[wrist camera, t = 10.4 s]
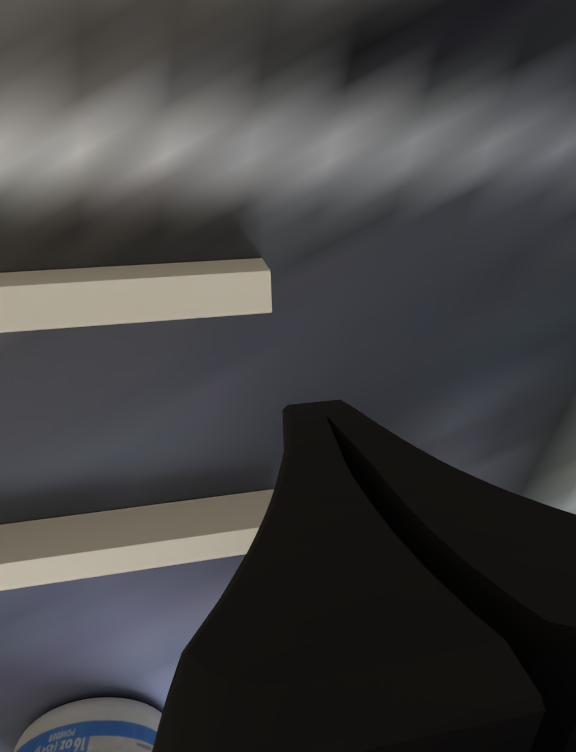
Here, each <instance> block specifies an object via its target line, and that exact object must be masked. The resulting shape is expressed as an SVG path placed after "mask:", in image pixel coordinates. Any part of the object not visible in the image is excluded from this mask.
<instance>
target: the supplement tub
mask: <svg viewBox="0 0 576 752" xmlns="http://www.w3.org/2000/svg"><path fill="white" fill-rule="evenodd" d="M161 715H162V713H161V712H159V711H158V710H156V709H155V708H153V707H151V706H149V705H147V704H145V703H142V702H139V701H135V700H131V699H125V698H115V697H101V698H90V699H84V700H79V701H75V702H71V703H68V704H65V705H62V706H59V707H57V708H55V709H53V710H51V711H49V712H47V713H45V714H44V715H42V716H41V717H39V718H38V719H37V720H35V721H34V722H33V723H32V724H31V725H30V726H29V727H28V728H27V729H26V730H25V732H24V733H23V734H22V736H21V737H20V739H19V741H18V743H17V745H16V747H15V749H14V752H152V750H153V745H154V741H155V737H156V733H157V729H158V726H159V722H160V719H161Z"/></svg>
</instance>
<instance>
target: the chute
mask: <svg viewBox="0 0 576 752" xmlns="http://www.w3.org/2000/svg"><path fill="white" fill-rule="evenodd" d="M259 313H272V299H271V275H270V269H269V268H268V266H267V265H266V263H265V262H264V260H263V259H262V258H253V259H235V260H218V261H200V262H182V263H164V264H146V265H129V266H111V267H93V268H75V269H57V270H40V271H22V272H4V273H0V333H1V332H15V331H29V330H42V329H56V328H69V327H83V326H96V325H110V324H123V323H137V322H151V321H164V320H178V319H191V318H205V317H218V316H232V315H246V314H259ZM273 492H274V489H271V490H263V491H255V492H248V493H240V494H232V495H225V496H217V497H209V498H201V499H194V500H186V501H178V502H171V503H163V504H155V505H148V506H140V507H132V508H125V509H117V510H109V511H102V512H94V513H86V514H79V515H71V516H63V517H55V518H48V519H40V520H32V521H25V522H17V523H9V524H2V525H0V591H3V590H9V589H16V588H23V587H29V586H36V585H43V584H49V583H56V582H63V581H69V580H76V579H83V578H89V577H96V576H103V575H110V574H116V573H123V572H130V571H136V570H143V569H150V568H156V567H163V566H170V565H176V564H183V563H190V562H196V561H203V560H210V559H217V558H223V557H230V556H237V555H243V554H247V552H248V550H249V548H250V546H251V544H252V542H253V540H254V538H255V536H256V534H257V531H258V529H259V527H260V525H261V522H262V520H263V518H264V516H265V513H266V511H267V508H268V506H269V503H270V500H271V498H272V495H273Z"/></svg>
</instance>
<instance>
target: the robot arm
mask: <svg viewBox="0 0 576 752" xmlns="http://www.w3.org/2000/svg"><path fill="white" fill-rule="evenodd" d="M283 436H284V454H283V459H282V463H281V467H280V471H279V475H278V479H277V483H276V486H275V489H274V492H273V495H272V498H271V500H270V503H269V506H268V508H267V511H266V513H265V516H264V518H263V520H262V522H261V525H260V527H259V529H258V531H257V534H256V536H255V538H254V540H253V542H252V544H251V546H250V548H249V550H248V552H247V554H246V555H245V557H244V559H243V561H242V562H241V564H240V566H239V567H238V569H237V571H236V573H235V574H234V576H233V578H232V579H231V581H230V583H229V585H228V586H227V588H226V590H225V591H224V593H223V594H222V596H221V598H220V599H219V601H218V602H217V604H216V605H215V607H214V608H213V609H212V611H211V612H210V614H209V615H208V616H207V618H206V619H205V621H204V622H203V623H202V625H201V626H200V628H199V629H198V631H197V632H196V633H195V635H194V636H193V638H192V639H191V640H190V642H189V643H188V645H187V646H186V647H185V649H184V650H183V652H182V654H181V657H180V660H179V662H178V665H177V668H176V671H175V674H174V677H173V680H172V683H171V686H170V689H169V692H168V695H167V699H166V702H165V705H164V709H163V712H162V715H161V719H160V722H159V726H158V729H157V733H156V737H155V741H154V745H153V750H152V752H576V515H575V514H572V513H569V512H566V511H563V510H560V509H557V508H553V507H551V506H548V505H545V504H542V503H539V502H537V501H534V500H531V499H528V498H526V497H523V496H520V495H517V494H515V493H512V492H509V491H507V490H504V489H502V488H499V487H497V486H494V485H492V484H489V483H487V482H485V481H483V480H480V479H478V478H476V477H474V476H472V475H469V474H467V473H465V472H463V471H460V470H458V469H456V468H454V467H452V466H450V465H448V464H446V463H444V462H442V461H440V460H438V459H437V458H435V457H433V456H431V455H429V454H427V453H426V452H424V451H422V450H420V449H418V448H416V447H415V446H413V445H411V444H410V443H408V442H406V441H404V440H403V439H401V438H400V437H398V436H396V435H395V434H393V433H391V432H390V431H388V430H387V429H385V428H384V427H382V426H380V425H379V424H377V423H376V422H374V421H373V420H371V419H370V418H368V417H367V416H365V415H364V414H362V413H361V412H359V411H358V410H356V409H355V408H353V407H352V406H350V405H348V404H347V403H345V402H343V401H342V400H332V401H323V402H313V403H303V404H294V405H287V406H286V407H285V408H284V409H283Z"/></svg>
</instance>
